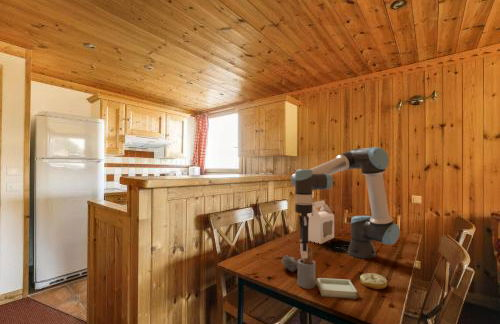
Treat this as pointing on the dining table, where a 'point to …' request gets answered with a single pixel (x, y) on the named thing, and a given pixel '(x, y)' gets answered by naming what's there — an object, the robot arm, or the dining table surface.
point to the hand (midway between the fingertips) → (303, 255)
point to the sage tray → (336, 288)
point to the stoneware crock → (306, 274)
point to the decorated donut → (373, 281)
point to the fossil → (289, 263)
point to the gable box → (320, 223)
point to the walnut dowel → (309, 259)
